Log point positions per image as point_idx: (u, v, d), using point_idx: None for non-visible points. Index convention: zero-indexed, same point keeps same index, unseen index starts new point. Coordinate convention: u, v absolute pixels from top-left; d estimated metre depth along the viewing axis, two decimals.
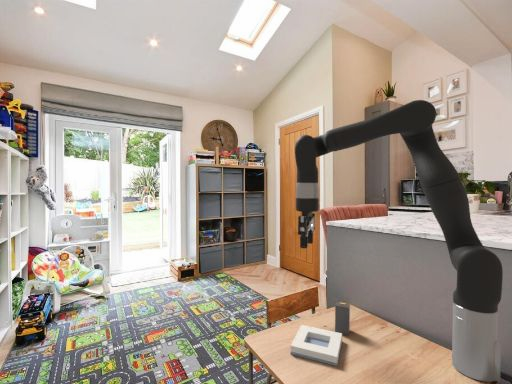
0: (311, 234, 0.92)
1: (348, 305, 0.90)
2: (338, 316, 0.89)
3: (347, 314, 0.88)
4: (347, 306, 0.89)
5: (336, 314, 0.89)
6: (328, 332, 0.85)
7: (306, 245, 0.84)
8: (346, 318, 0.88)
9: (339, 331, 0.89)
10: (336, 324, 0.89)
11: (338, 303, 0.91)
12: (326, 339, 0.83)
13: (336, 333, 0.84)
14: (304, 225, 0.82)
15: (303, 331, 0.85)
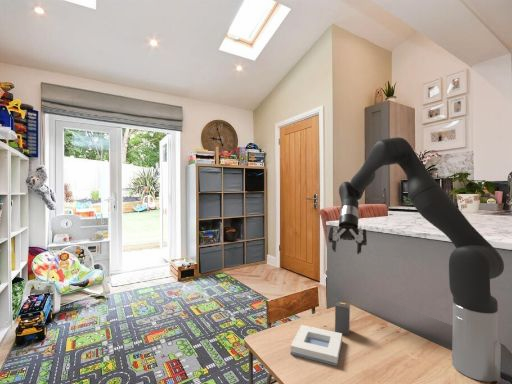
0: None
1: (348, 305, 0.90)
2: (338, 316, 0.89)
3: (347, 314, 0.88)
4: (347, 306, 0.89)
5: (336, 314, 0.89)
6: (328, 332, 0.85)
7: (333, 247, 1.03)
8: (346, 318, 0.88)
9: (339, 331, 0.89)
10: (336, 324, 0.89)
11: (338, 303, 0.91)
12: (326, 339, 0.83)
13: (336, 333, 0.84)
14: None
15: (303, 331, 0.85)
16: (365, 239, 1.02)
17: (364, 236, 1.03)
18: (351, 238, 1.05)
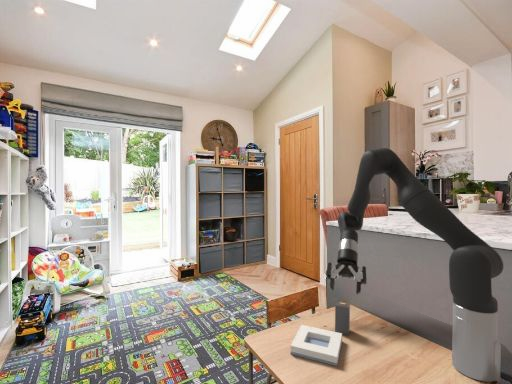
0: None
1: (348, 305, 0.90)
2: (338, 316, 0.89)
3: (347, 314, 0.88)
4: (347, 306, 0.89)
5: (336, 314, 0.89)
6: (328, 332, 0.85)
7: (331, 285, 0.98)
8: (346, 318, 0.88)
9: (339, 331, 0.89)
10: (336, 324, 0.89)
11: (338, 303, 0.91)
12: (326, 339, 0.83)
13: (336, 333, 0.84)
14: None
15: (303, 331, 0.85)
16: (365, 278, 0.97)
17: (364, 274, 0.98)
18: (350, 276, 1.00)
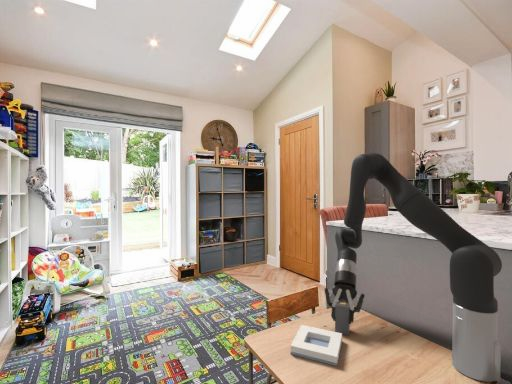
0: (349, 312, 0.89)
1: (348, 305, 0.90)
2: (338, 316, 0.89)
3: (347, 314, 0.88)
4: (347, 306, 0.89)
5: (336, 314, 0.89)
6: (328, 332, 0.85)
7: (333, 316, 0.90)
8: (346, 318, 0.88)
9: (339, 331, 0.89)
10: (336, 324, 0.89)
11: (338, 303, 0.91)
12: (326, 339, 0.83)
13: (336, 333, 0.84)
14: None
15: (303, 331, 0.85)
16: (358, 306, 0.89)
17: (359, 302, 0.90)
18: (345, 300, 0.93)
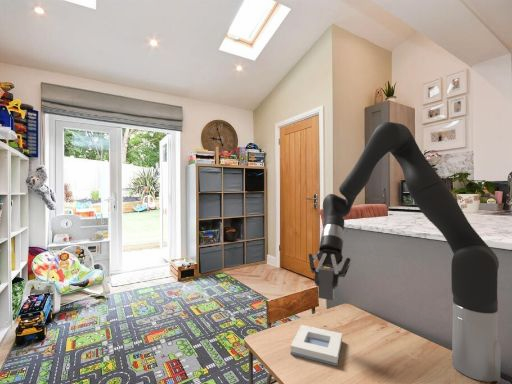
0: (333, 276, 0.83)
1: (332, 269, 0.84)
2: (321, 280, 0.83)
3: (331, 278, 0.82)
4: (331, 269, 0.83)
5: (319, 278, 0.83)
6: (328, 332, 0.85)
7: (316, 280, 0.84)
8: (330, 282, 0.82)
9: (322, 296, 0.83)
10: (319, 289, 0.83)
11: (322, 267, 0.85)
12: (326, 339, 0.83)
13: (336, 333, 0.84)
14: None
15: (303, 331, 0.85)
16: (343, 270, 0.83)
17: (344, 266, 0.84)
18: (330, 265, 0.87)
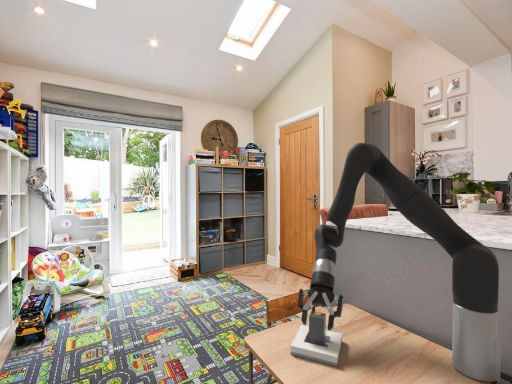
0: None
1: (323, 316, 0.80)
2: (312, 328, 0.80)
3: (322, 326, 0.78)
4: (322, 317, 0.79)
5: (310, 326, 0.80)
6: (328, 332, 0.85)
7: (303, 319, 0.81)
8: (321, 330, 0.79)
9: None
10: (310, 337, 0.80)
11: (313, 313, 0.82)
12: (326, 339, 0.83)
13: (336, 333, 0.84)
14: None
15: (303, 331, 0.85)
16: (339, 310, 0.79)
17: (339, 305, 0.80)
18: (323, 305, 0.83)
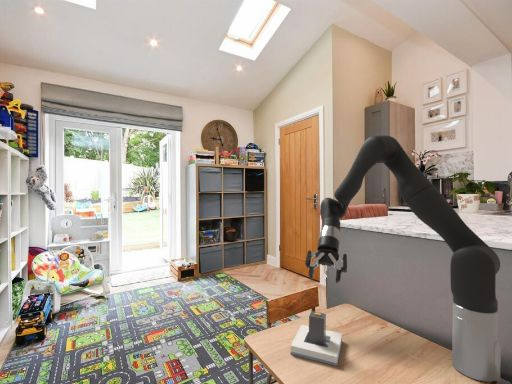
0: None
1: (323, 316, 0.80)
2: (312, 328, 0.80)
3: (322, 326, 0.78)
4: (322, 317, 0.79)
5: (310, 326, 0.80)
6: (328, 332, 0.85)
7: (310, 274, 0.93)
8: (321, 330, 0.79)
9: None
10: (310, 337, 0.80)
11: (313, 313, 0.82)
12: (326, 339, 0.83)
13: (336, 333, 0.84)
14: None
15: (303, 331, 0.85)
16: (345, 266, 0.91)
17: (344, 262, 0.92)
18: (330, 264, 0.94)
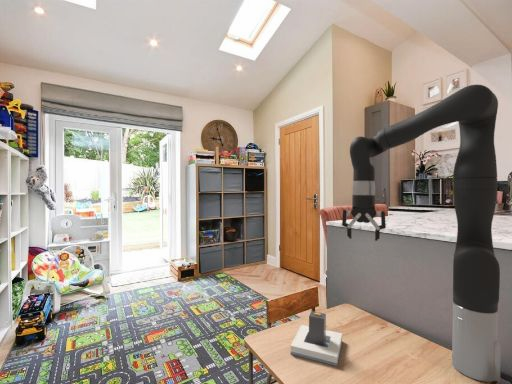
0: (375, 231, 0.93)
1: (323, 316, 0.80)
2: (312, 328, 0.80)
3: (322, 326, 0.78)
4: (322, 317, 0.79)
5: (310, 326, 0.80)
6: (328, 332, 0.85)
7: (349, 236, 0.96)
8: (321, 330, 0.79)
9: None
10: (310, 337, 0.80)
11: (313, 313, 0.82)
12: (326, 339, 0.83)
13: (336, 333, 0.84)
14: None
15: (303, 331, 0.85)
16: (384, 225, 0.91)
17: (383, 221, 0.91)
18: None
